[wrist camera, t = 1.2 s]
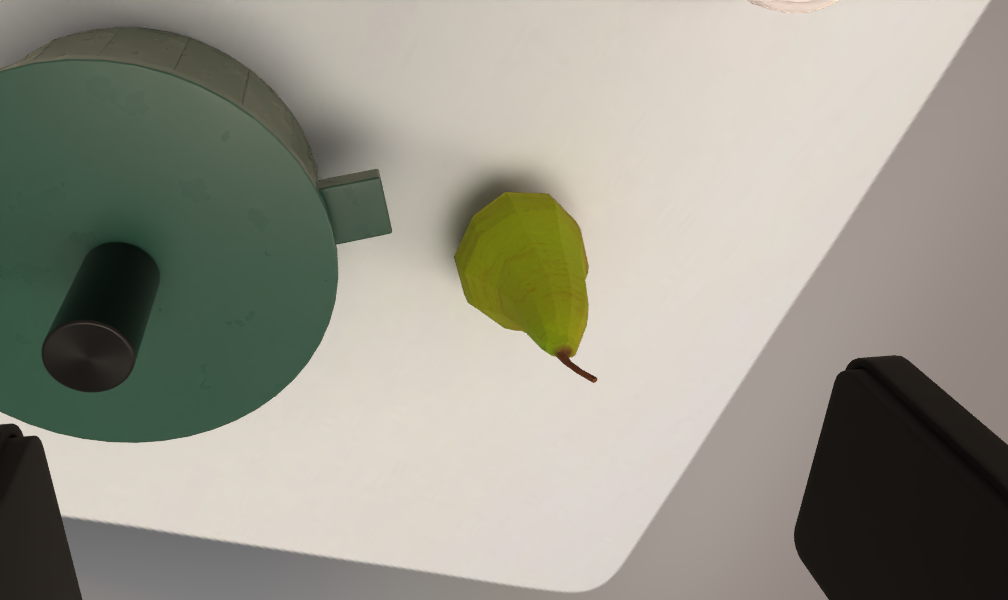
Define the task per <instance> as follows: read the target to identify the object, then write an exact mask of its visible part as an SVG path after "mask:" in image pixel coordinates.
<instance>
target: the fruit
mask: <svg viewBox="0 0 1008 600" xmlns="http://www.w3.org/2000/svg"><path fill="white" fill-rule="evenodd" d="M454 259H455V262H456V266H457V269H458V273H459V277H460V280H461V284H462V288H463V291H464V294H465V297H466V299H467V302H468V303H469V304H471V305H472V306H474V307H475V308H477V309H478V310H480V311H481V312H483V313H484V314H485V315H487V316H488V317H490V318H491V319H492V320H494V321H495V322H497V323H498V324H499V325H501V326H502V327H504V328H506V329H511V330H516V331H523V332H525V333H527V334H528V335H529V336H530V337H531V338H532V339H533V340H534V342H535V343H536V344H537V345H538V346H539V347H540V348H541V349H543V350H544V351H546V352H547V353H549V354H550V355H551V356H556V357H557V358H558V359H559V360H560V361H561V362H562V363H563V364H565V365H566V366H567V367H569V368H570V369H572V370H573V371H574V372H576V373H577V374H579V375H581V376H582V377H584V378H586V379H588V380H589V381H591V382H593V383H594V382H596V381H597V378H596V377H595V376H593V375H591V374H589V373H587V372H585V371H583V370H582V369H580V368H579V367H578V366H576V365H575V364H574V363H572V362H571V361H570V359H569V358H570V357H573V356H574V355H576V352H577V349H578V347H579V344H580V341H581V339H582V336H583V333H584V331H585V328H586V326H587V319H588V297H587V290H586V283H585V279H586V276H587V274H588V267H589V266H588V262H587V257H586V252H585V248H584V243H583V239H582V234H581V230H580V228H579V226H578V224H577V222H576V221H575V220H574V219H573V218H572V217H571V216H570V215H569V214H568V213H567V212H566V211H565V210H564V209H563V208H562V207H561V206H560V205H559V204H558V203H557V202H556V201H555V200H554V199H553V198H552V197H551V196H550V195H549V194H546V193H519V192H504V193H503V194H502V195H500V196H499V197H498V198H496V199H495V200H494V201H492V202H491V203H490V204H488V205H487V206H486V207H484V208H483V209H482V210H480V211H479V212H478V213H476V214H475V215H474V216H473V217H472V219H471V221H470V223H469V225H468V228H467V230H466V232H465V234H464V236H463V238H462V241H461V243H460V245H459V247H458V249H457V252H456V254H455V256H454Z"/></svg>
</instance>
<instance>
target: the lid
mask: <svg viewBox="0 0 1008 600" xmlns="http://www.w3.org/2000/svg"><path fill="white" fill-rule="evenodd" d="M337 283H338V258H337V247H336V241H335V236H334V230H333V225H332V222H331V219H330V216H329V213H328V210H327V207H326V204H325V201H324V199H323V197H322V195H321V193H320V191H319V189H318V187H317V185H316V183H315V181H314V179H313V177H312V176H311V174H310V173H309V171H308V170H307V169H306V167H305V166H304V164H303V163H302V161H301V160H300V158H299V157H298V155H297V154H296V153H295V152H294V151H293V150H292V148H291V147H290V146H289V145H288V144H287V143H286V142H285V141H284V139H283V138H282V137H281V136H280V135H279V134H278V133H277V132H276V131H275V130H274V129H273V128H271V127H270V126H269V125H268V124H267V123H266V122H265V121H264V120H262V119H261V118H260V117H259V116H258V115H257V114H256V113H254V112H253V111H251V110H250V109H248V108H247V107H245V106H244V105H243V104H241V103H240V102H238V101H237V100H235V99H234V98H232V97H231V96H229V95H227V94H225V93H224V92H222V91H220V90H218V89H216V88H214V87H212V86H210V85H208V84H207V83H205V82H203V81H201V80H198V79H196V78H193V77H190V76H188V75H185V74H183V73H180V72H178V71H175V70H172V69H169V68H165V67H162V66H158V65H154V64H150V63H146V62H142V61H139V60H132V59H124V58H117V57H110V56H88V55H69V56H59V57H50V58H41V59H35V60H31V61H27V62H23V63H19V64H15V65H10V66H6V67H4V68H1V69H0V412H2V413H4V414H7V415H9V416H11V417H14V418H16V419H18V420H21V421H23V422H25V423H27V424H30V425H33V426H36V427H40V428H43V429H46V430H49V431H52V432H55V433H59V434H64V435H68V436H73V437H78V438H82V439H90V440H98V441H106V442H131V443H139V442H153V441H165V440H171V439H176V438H182V437H188V436H192V435H195V434H199V433H203V432H206V431H210V430H213V429H216V428H218V427H221V426H223V425H226V424H228V423H231V422H233V421H236V420H238V419H239V418H241V417H243V416H245V415H247V414H249V413H251V412H252V411H254V410H256V409H258V408H259V407H261V406H262V405H263V404H265V403H266V402H268V401H269V400H271V399H272V398H273V397H275V396H276V395H277V394H278V393H280V392H281V391H282V390H283V389H284V388H285V387H286V386H287V385H288V384H289V383H291V382H292V381H293V380H294V379H295V377H296V376H297V375H298V374H299V373H300V372H301V370H302V369H303V368H304V367H305V366H306V364H307V363H308V362H309V360H310V359H311V357H312V356H313V354H314V352H315V351H316V349H317V348H318V346H319V344H320V343H321V341H322V338H323V336H324V334H325V331H326V329H327V327H328V325H329V322H330V319H331V315H332V311H333V308H334V304H335V300H336V292H337Z"/></svg>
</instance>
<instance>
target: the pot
mask: <svg viewBox="0 0 1008 600" xmlns="http://www.w3.org/2000/svg"><path fill="white" fill-rule="evenodd" d="M69 55H88V56H110V57H117V58H124V59H132V60H139V61H142V62H146V63H150V64H154V65H158V66H162V67H165V68H169V69H172V70H175V71H178V72H180V73H183V74H185V75H188V76H190V77H193V78H196V79H198V80H201V81H203V82H205V83H207V84H208V85H210V86H212V87H214V88H216V89H218V90H220V91H222V92H224V93H225V94H227V95H229V96H231V97H232V98H234V99H235V100H237V101H238V102H240V103H241V104H243V105H244V106H245V107H247V108H248V109H250V110H251V111H253V112H254V113H256V114H257V115H258V116H259V117H260V118H261V119H262V120H264V121H265V122H266V123H267V124H268V125H269V126H270V127H271V128H273V129H274V130H275V131H276V132H277V133H278V134H279V135H280V136H281V137H282V138H283V139H284V141H285V142H286V143H287V144H288V145H289V146H290V147H291V148H292V150H293V151H294V152H295V153H296V154H297V155H298V157H299V158H300V160H301V161H302V163H303V164H304V166H305V167H306V169H307V170H308V171H309V173H310V174H311V176H312V177H313V179H314V181H315V183H316V185H317V187H318V189H319V191H320V193H321V195H322V197H323V199H324V201H325V204H326V207H327V210H328V213H329V216H330V219H331V222H332V225H333V230H334V236H335V241H336V244H341V243H346V242H351V241H356V240H361V239H366V238H371V237H375V236H380V235H385V234H390V233H392V228H391V224H390V219H389V214H388V210H387V205H386V201H385V196H384V191H383V187H382V182H381V178H380V173H379V170H378V169H374V170H368V171H363V172H358V173H353V174H348V175H343V176H338V177H333V178H328V179H322V180H318V174H317V166H316V163H315V161H314V159H313V157H312V154H311V151H310V148H309V145H308V142H307V140H306V138H305V136H304V134H303V132H302V130H301V128H300V126H299V124H298V123H297V121H296V120H295V118H294V116H293V115H292V113H291V112H290V110H289V109H288V107H287V106H286V105H285V104H284V102H283V101H282V100H281V99H280V98H279V97H278V95H277V94H276V93H275V92H274V91H273V90H272V89H271V88H270V87H269V86H268V85H267V84H266V83H265V82H264V81H263V80H262V79H260V78H259V77H258V76H257V75H256V74H255V73H254V72H252V71H251V70H249V69H248V68H247V67H245V66H244V65H242V64H241V63H240V62H238V61H237V60H235V59H234V58H232V57H230V56H228V55H226V54H225V53H223V52H221V51H219V50H217V49H215V48H214V47H211V46H209V45H206V44H204V43H201V42H199V41H196V40H194V39H191V38H188V37H184V36H181V35H177V34H173V33H170V32H166V31H159V30H152V29H146V28H125V27H115V28H105V29H96V30H90V31H85V32H81V33H77V34H73V35H69V36H66V37H62V38H58V39H54V40H53V41H51V42H50V43H48V44H46V45H45V46H43V47H41V48H39V49H38V50H36V51H34V52H32V53H31V54H29V55H27V56H26V57H25V58H23V59H22V60H20V61H19V62H17V63H15V64H19V63H23V62H27V61H31V60H35V59H41V58H50V57H59V56H69ZM15 64H14V65H15Z"/></svg>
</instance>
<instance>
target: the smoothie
mask: <svg viewBox="0 0 1008 600" xmlns="http://www.w3.org/2000/svg"><path fill="white" fill-rule="evenodd" d="M748 1H749V2H751V3H752V4H755V5H759V6H762V7H765V8H768V9H771V10H776V11H780V12H785V13H806V12H811V11H816V10H819V9H823V8H825V7H828V6H830V5H832V4H834V3H836V2H838V1H840V0H748Z"/></svg>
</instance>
